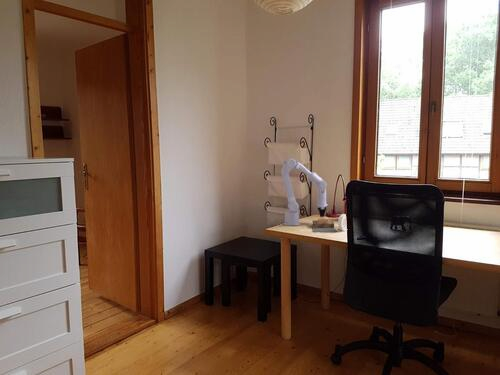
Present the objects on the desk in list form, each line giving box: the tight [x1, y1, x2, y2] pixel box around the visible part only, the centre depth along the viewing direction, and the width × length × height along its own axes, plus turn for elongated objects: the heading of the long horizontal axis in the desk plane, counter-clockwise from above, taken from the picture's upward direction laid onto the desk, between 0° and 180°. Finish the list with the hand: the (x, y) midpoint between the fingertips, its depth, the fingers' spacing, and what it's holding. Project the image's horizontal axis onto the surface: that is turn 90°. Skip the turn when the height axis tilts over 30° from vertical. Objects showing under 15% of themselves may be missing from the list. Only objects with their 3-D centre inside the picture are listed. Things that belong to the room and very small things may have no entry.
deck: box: [312, 219, 335, 229], centre depth 250 cm, size 13×11×3 cm
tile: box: [317, 216, 329, 223], centre depth 250 cm, size 6×9×2 cm, turn 173°
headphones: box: [337, 213, 347, 232], centre depth 241 cm, size 22×2×10 cm, turn 139°
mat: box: [312, 227, 338, 233], centre depth 239 cm, size 14×10×1 cm
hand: (322, 218), depth 259 cm, fingers closed
